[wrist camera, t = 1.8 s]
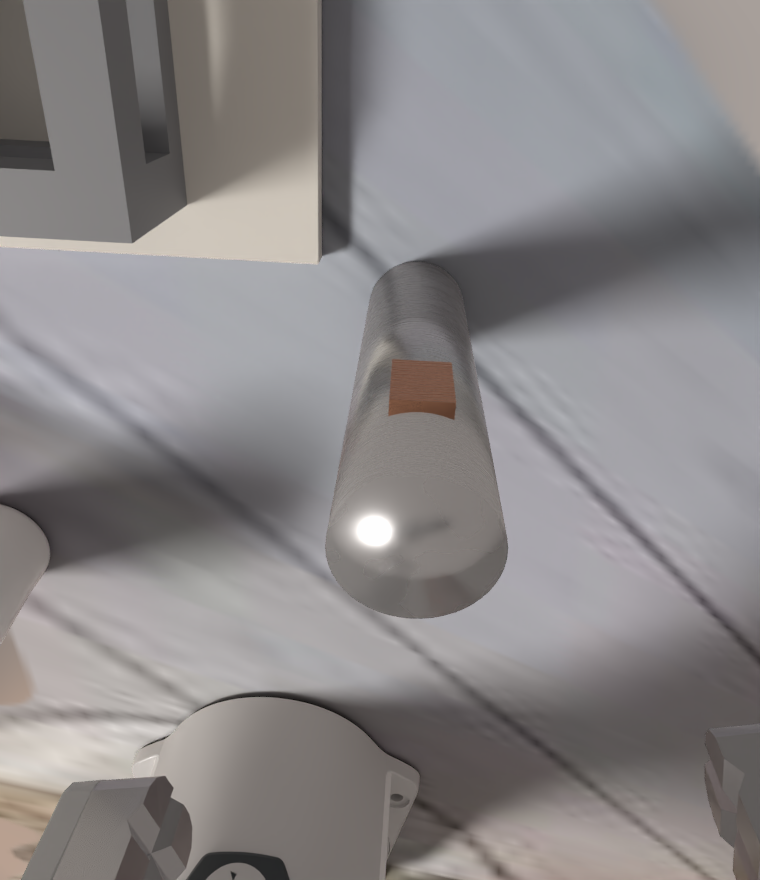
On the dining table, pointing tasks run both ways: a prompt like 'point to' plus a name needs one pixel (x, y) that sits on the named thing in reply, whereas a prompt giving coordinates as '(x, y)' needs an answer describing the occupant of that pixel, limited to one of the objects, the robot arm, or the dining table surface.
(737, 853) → the robot arm
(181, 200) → the stand
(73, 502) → the dining table surface
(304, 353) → the dining table surface
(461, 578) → the tube
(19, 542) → the drinking glass
